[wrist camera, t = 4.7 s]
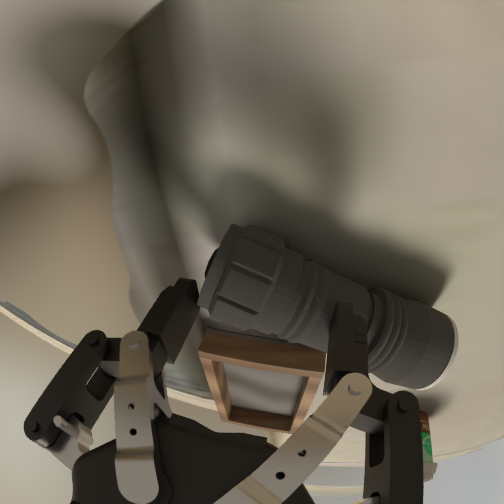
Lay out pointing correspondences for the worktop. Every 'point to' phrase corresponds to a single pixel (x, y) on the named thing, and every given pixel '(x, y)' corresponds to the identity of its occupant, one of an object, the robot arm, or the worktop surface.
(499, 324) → the worktop surface
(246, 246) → the flashlight
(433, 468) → the food container
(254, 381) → the open wooden frame
